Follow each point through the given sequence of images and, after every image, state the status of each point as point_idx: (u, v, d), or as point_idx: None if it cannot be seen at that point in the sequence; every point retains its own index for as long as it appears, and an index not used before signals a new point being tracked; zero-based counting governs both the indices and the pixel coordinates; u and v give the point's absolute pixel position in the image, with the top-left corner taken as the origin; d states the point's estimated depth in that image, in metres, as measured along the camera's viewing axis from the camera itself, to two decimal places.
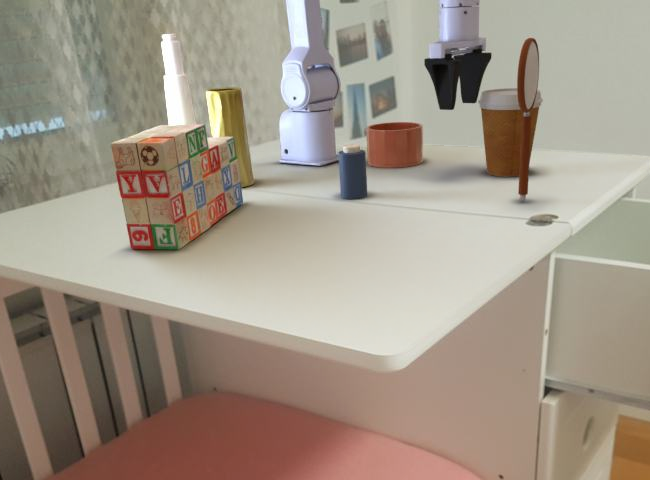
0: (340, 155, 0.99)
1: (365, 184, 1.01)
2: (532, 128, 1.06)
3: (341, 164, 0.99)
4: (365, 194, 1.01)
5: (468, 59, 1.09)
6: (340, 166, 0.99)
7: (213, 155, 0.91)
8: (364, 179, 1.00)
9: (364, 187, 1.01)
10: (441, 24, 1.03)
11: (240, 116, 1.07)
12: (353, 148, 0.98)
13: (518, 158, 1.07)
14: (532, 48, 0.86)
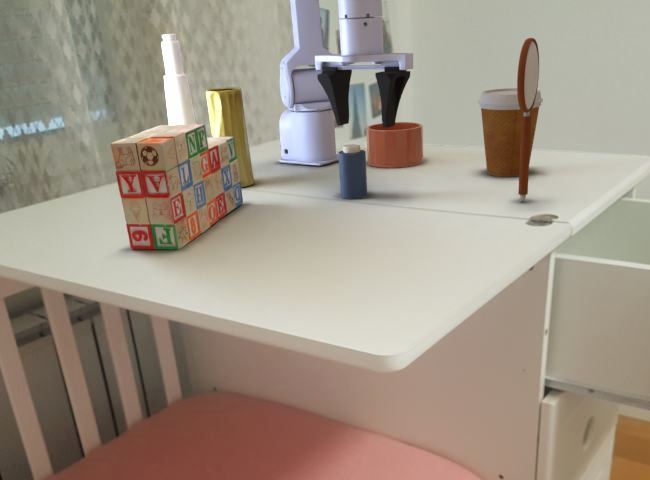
0: (340, 155, 0.99)
1: (365, 184, 1.01)
2: (532, 128, 1.06)
3: (341, 164, 0.99)
4: (365, 194, 1.01)
5: None
6: (340, 166, 0.99)
7: (213, 155, 0.91)
8: (364, 179, 1.00)
9: (364, 187, 1.01)
10: None
11: (240, 116, 1.07)
12: (353, 148, 0.98)
13: (518, 158, 1.07)
14: (532, 48, 0.86)
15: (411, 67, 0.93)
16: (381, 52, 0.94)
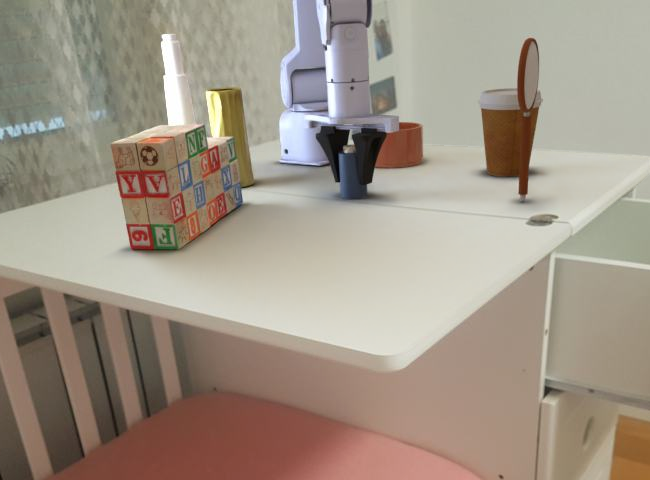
0: (340, 155, 0.99)
1: None
2: (532, 128, 1.06)
3: (341, 164, 0.99)
4: (365, 194, 1.01)
5: None
6: (340, 166, 0.99)
7: (213, 155, 0.91)
8: None
9: (364, 187, 1.01)
10: None
11: (240, 116, 1.07)
12: (353, 148, 0.98)
13: (518, 158, 1.07)
14: (532, 48, 0.86)
15: (397, 129, 0.95)
16: (368, 114, 0.96)
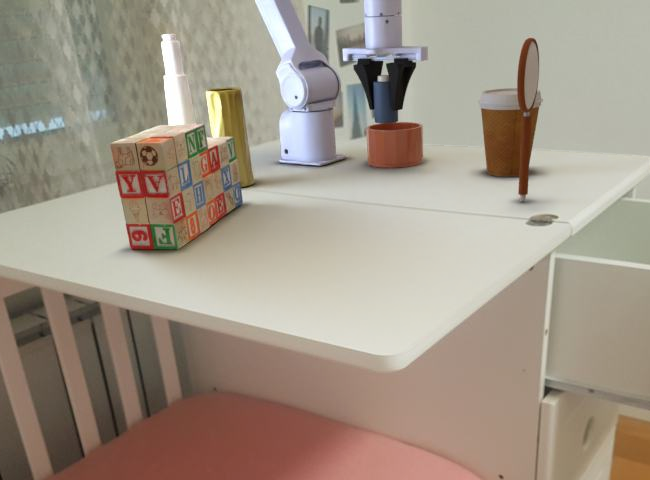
0: (375, 83, 1.12)
1: None
2: (532, 128, 1.06)
3: (376, 91, 1.12)
4: (396, 119, 1.14)
5: None
6: (375, 93, 1.13)
7: (213, 155, 0.91)
8: None
9: (396, 113, 1.14)
10: None
11: (240, 116, 1.07)
12: (387, 77, 1.11)
13: (518, 158, 1.07)
14: (532, 48, 0.86)
15: (426, 59, 1.08)
16: (400, 46, 1.09)
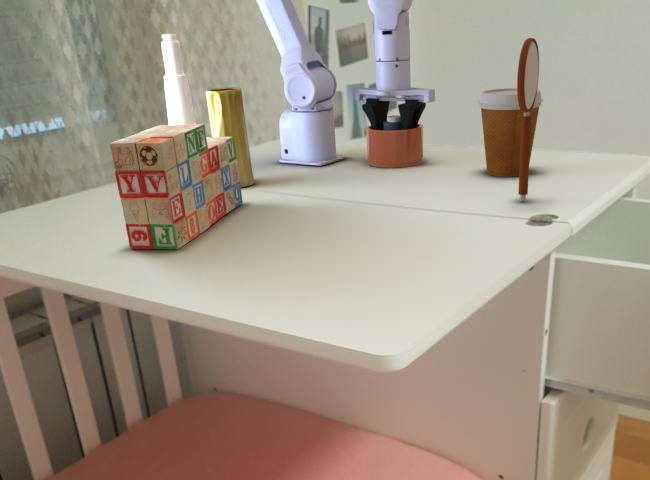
0: (385, 124, 1.19)
1: None
2: (532, 128, 1.06)
3: None
4: None
5: None
6: None
7: (212, 155, 0.91)
8: None
9: None
10: None
11: (240, 116, 1.07)
12: (396, 118, 1.19)
13: (518, 158, 1.07)
14: (532, 48, 0.86)
15: (433, 100, 1.15)
16: (409, 87, 1.16)
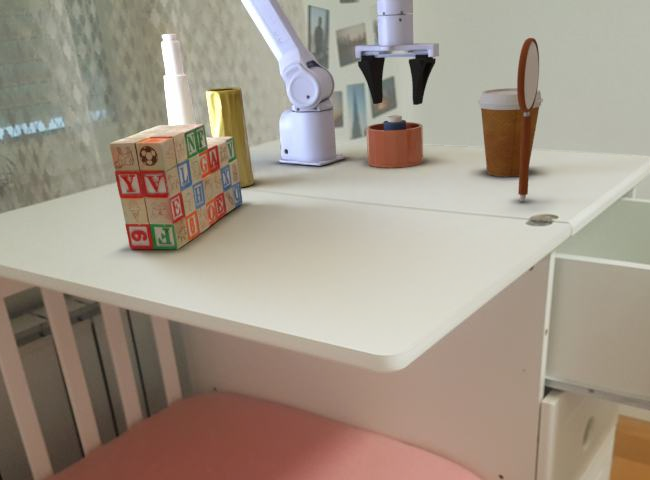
0: (385, 124, 1.19)
1: None
2: (532, 128, 1.06)
3: None
4: None
5: None
6: None
7: (212, 155, 0.91)
8: None
9: None
10: None
11: (240, 116, 1.07)
12: (396, 118, 1.19)
13: (518, 158, 1.07)
14: (532, 48, 0.86)
15: (437, 55, 1.14)
16: (412, 43, 1.15)
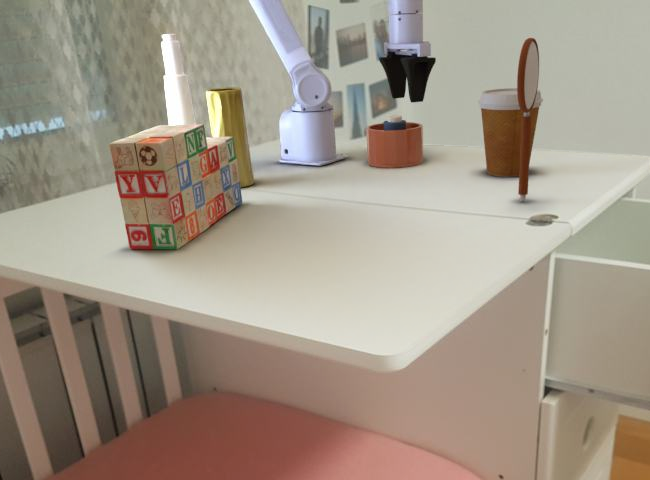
0: (385, 124, 1.19)
1: None
2: (532, 128, 1.06)
3: None
4: None
5: (395, 59, 1.25)
6: None
7: (212, 155, 0.91)
8: None
9: None
10: (402, 29, 1.17)
11: (240, 116, 1.07)
12: (396, 118, 1.19)
13: (518, 158, 1.07)
14: (532, 48, 0.86)
15: None
16: None
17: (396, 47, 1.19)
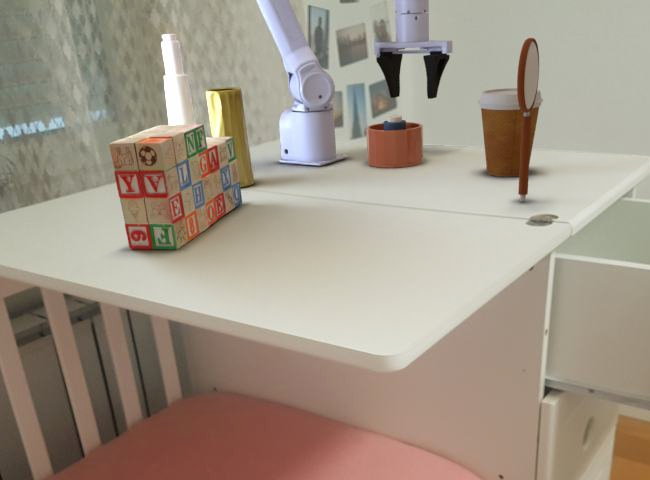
0: (385, 124, 1.19)
1: None
2: (532, 128, 1.06)
3: None
4: None
5: (392, 59, 1.26)
6: None
7: (212, 155, 0.91)
8: None
9: None
10: (418, 27, 1.20)
11: (240, 116, 1.07)
12: (396, 118, 1.19)
13: (518, 158, 1.07)
14: (532, 48, 0.86)
15: None
16: None
17: (413, 45, 1.21)
